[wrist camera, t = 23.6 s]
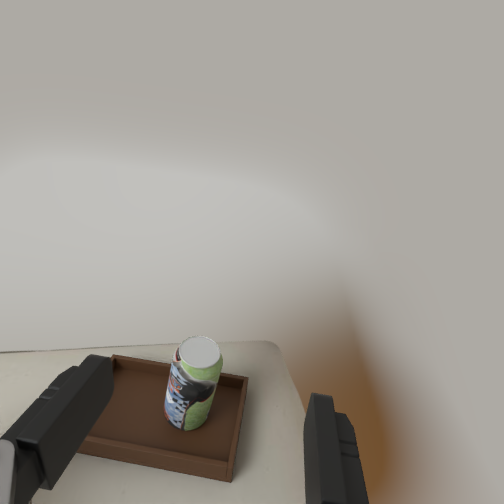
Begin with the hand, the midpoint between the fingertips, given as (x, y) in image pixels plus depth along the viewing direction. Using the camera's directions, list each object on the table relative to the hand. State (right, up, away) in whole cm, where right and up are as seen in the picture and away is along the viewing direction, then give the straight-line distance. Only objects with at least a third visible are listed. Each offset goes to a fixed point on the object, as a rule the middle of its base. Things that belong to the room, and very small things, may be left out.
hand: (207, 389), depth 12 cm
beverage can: (-6, -17, +29) cm, 34 cm away
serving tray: (-10, -17, +29) cm, 35 cm away
